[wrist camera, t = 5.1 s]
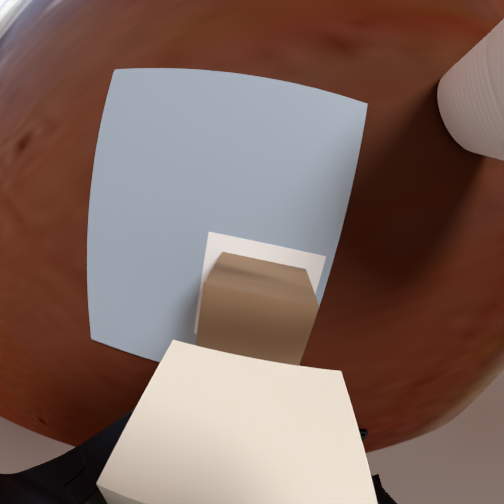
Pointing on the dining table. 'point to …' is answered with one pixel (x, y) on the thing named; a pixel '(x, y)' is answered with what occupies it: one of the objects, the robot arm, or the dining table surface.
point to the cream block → (238, 436)
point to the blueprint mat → (209, 193)
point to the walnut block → (257, 309)
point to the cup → (476, 97)
